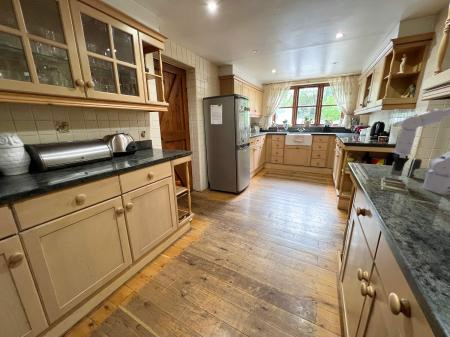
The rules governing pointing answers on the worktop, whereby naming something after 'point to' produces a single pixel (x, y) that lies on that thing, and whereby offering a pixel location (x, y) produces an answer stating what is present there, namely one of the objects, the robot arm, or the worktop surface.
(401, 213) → the worktop surface
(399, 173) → the plug
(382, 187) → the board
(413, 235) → the worktop surface
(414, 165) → the battery charger
